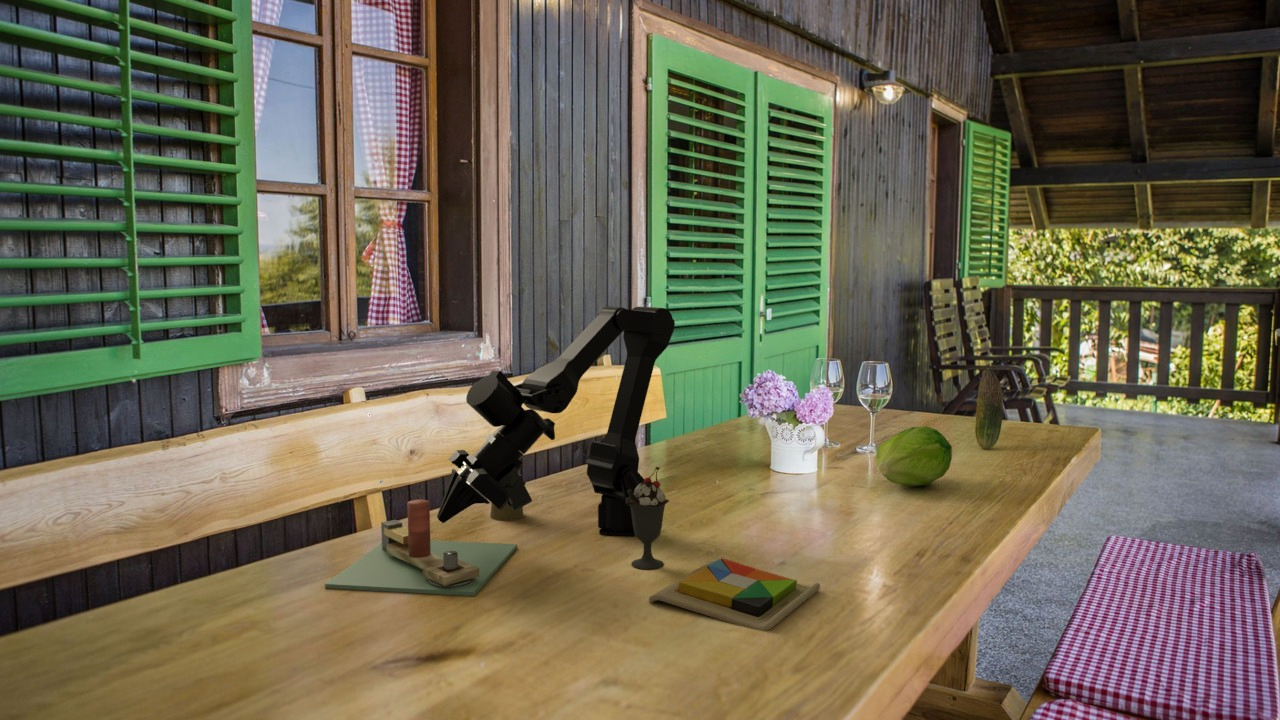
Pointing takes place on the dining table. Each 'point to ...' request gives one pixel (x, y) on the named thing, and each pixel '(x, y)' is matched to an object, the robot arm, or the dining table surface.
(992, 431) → the vegetable
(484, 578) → the latch board
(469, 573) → the latch bar
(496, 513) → the cork
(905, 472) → the green oval lump
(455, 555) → the pintle
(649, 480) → the sundae
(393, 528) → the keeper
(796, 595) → the wooden puzzle
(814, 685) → the dining table surface
